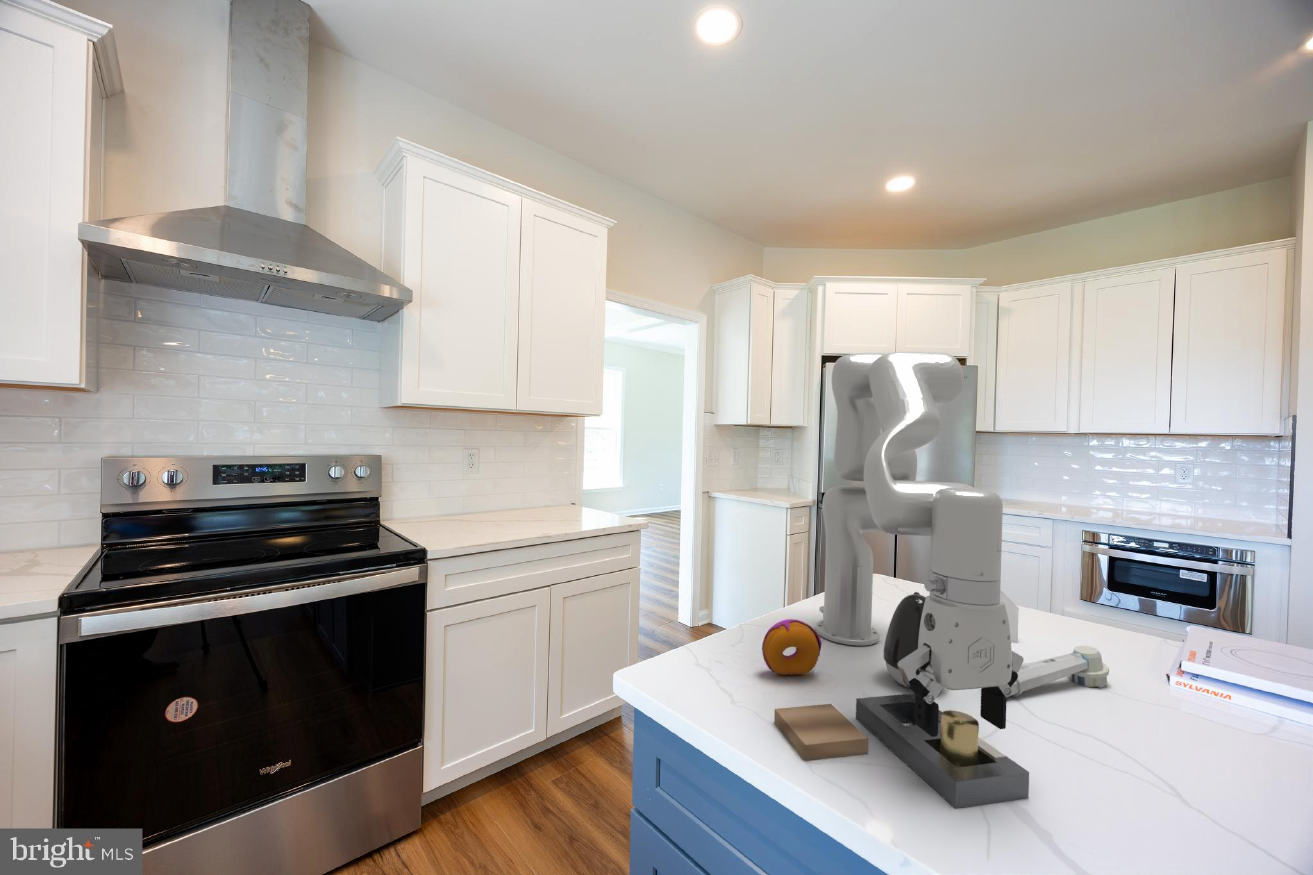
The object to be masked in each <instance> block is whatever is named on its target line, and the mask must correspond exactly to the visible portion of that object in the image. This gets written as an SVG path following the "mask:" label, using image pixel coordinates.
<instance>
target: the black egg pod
mask: <svg viewBox="0 0 1313 875" xmlns="http://www.w3.org/2000/svg"><path fill="white" fill-rule="evenodd" d="M925 599H926V596H924V595H922V594H920V593H919V592H918V591H914V593H912V594H909V595H906V596H905V597H903V598H902V599H901V601H900V602H899V603H898V605H897V607H896V608H895V610H894V612H893V614H892V617H891V620H890V623H889V626H888V629H887V632H886V636H885V641H884V646H883V653H882V654H883V657H882V658H883V660H884V661H885V666H886V668H887V671H888V673H889V674H890V676H891V677H892V678H893V679H894V680H895V681H896V682H897V683H898V684H899V685H902V686H904V687H905V688H907V689H910V688H909V687H908V686H907V685H906V684H905V683H904V681H903V677H902V675H901V673H900V671H899V668H898V665H897V664H898V662H899V661H900V660H902V659H903V658H905V657H906V656H908V655H909V654H911V653H912V652H914V651H915V650H917V649H918V639H919V630H920V622H921V617H922V612H923V607H924V603H925ZM919 674H920V671H919V668H918V669H917V670H916V675H917V676H916V677H918V675H919ZM932 682H933V681H931V680H929V681H928V683H927V684H926V686H925V688H926V689H928V687H929V686H930V685H931V683H932Z"/></svg>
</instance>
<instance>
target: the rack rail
mask: <svg viewBox="0 0 1313 875" xmlns="http://www.w3.org/2000/svg"><path fill="white" fill-rule="evenodd" d="M942 712H943V711H942V710H940V709H939V717H938V735H937V736H936V737H931V736H930V735H929V734H927V733H926V732H925V731H924V730H922V729H921V728H920V727H918V726H917V725H916V723H915V694H914V693H912V692H911V693H902V694H891V695H880V696H870V697H858V698H855V719H856V720H857V721H858V723H860V724H861V725H862V726H863V727H864V728H865V729H866V730H867V731H869V733H870V734H872V735H873V736H875V738H876V739H878V740H879V741H880V742H881V743H882V744H883V746H885V747H886V748H887V749H889V750H890V751H891V752H892V753H893V755H895V756H897V757H898V758H899V759H900V760H901V761H902V763H904V764H905V765H906V766H907V767H908V768H909V769H911V770H912V771H913V772H914V773H915V774H916V775H918V776H919V777H920V778H921V779H922V780H923V781H924V782H925V783H926V784H927V785H929V787H931V788H932V789H933V790H934V791H935V792H936V793H938V794H939V795H940V797H941V798H943V799H944V800H945V801H946V802H948V804H949V805H951V807H953V808H954V809H962V808H969V807H975V806H976V807H977V806H983V805H987V804H988V805H989V804H996V803H1004V802H1010V801H1016V800H1024V799H1029V795H1030V794H1029V793H1030V792H1029V789H1030V771H1028V770H1027V769H1025V768H1024V767H1022V766H1021V765H1020V764H1018V763H1017V762H1015V761H1014V760H1012V759H1011V758H1009V757H1008V756H1007V755H1005V754H1004V753H1002V752H1001V751H999V750H998V749H996V747H994V746H992V745H991V744H989V743H987V741H985V740H983V739H982V738H981V737H980V736H978V765H974V766H966V767H958V768H957V767H956V766H955V765H954V764H952V763H951V762H950V761H949V760H947V759H946V758H945V757H944V756H942V755H941V754H940V744H941V714H942ZM905 723H912V724H911V725H905Z"/></svg>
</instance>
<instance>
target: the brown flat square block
mask: <svg viewBox="0 0 1313 875" xmlns="http://www.w3.org/2000/svg"><path fill="white" fill-rule="evenodd" d="M773 716H774V722H773V723H774V724H775V725H776V727H777V728H778V729H779V730H780V732H781V733H782V734H783V736H785V738H786V739H787V740H788V741H789V743H790V744H791V746H793V748H794V749H795V750H796V752H797V753H798V754H799V755H800V756H801V757H802V759H803V760H804V761H813V760H822V759H830V758H831V759H832V758H840V757H850V756H857V755H865V754H868V752H869V738H868V736H867V735H866V734H864V733H863V731H861V730H860V729H859V728H858V727H857V726H856V725H854V723H852V721H850V720H849V719H848V718H847V717H846V716H845V715H844V714H843V713H842V712H841V711H840V710H839V709H837V708H836V707H835V706H834V705H833V704H832V703H825V704H824V703H823V704H815V705H814V704H813V705H803V706H793V707H791V706H790V707H780V708H779V707H778V708H774V715H773Z"/></svg>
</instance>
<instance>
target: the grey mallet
mask: <svg viewBox="0 0 1313 875" xmlns="http://www.w3.org/2000/svg"><path fill="white" fill-rule="evenodd" d="M1109 673H1110V668H1109V666H1108V665H1107V664H1105V663H1104V662H1103V658H1102V654H1101V652H1100V651H1099V649H1097V647H1094V646H1089V645H1078V646H1075V647H1074V649H1073V651H1072V652H1071V653H1068V654H1067V653H1066V654H1063V655H1058V656H1054V657H1051V658H1046V659H1040V660H1037V661H1031V662H1028V663H1022V666H1021V668H1020V670H1019V672H1017V674H1018V679H1017V680H1016V681H1015V683H1014V684H1013V685H1012V686H1011V690H1012V693H1011V695H1010V696H1006V698H1009V697H1012V698H1017V697H1019V696H1021V695H1022V694H1023V693H1024V692H1026V691H1029V690H1032V689H1035V688H1038V687H1040V686H1043V685H1047V684H1049V683H1052V682H1054V681H1058V680H1060V679H1063V678H1066V677H1069V676H1070V680H1071V681H1072V682H1073V683H1076V684H1078V685H1079V686H1084V687H1086V688H1087V687H1088V688H1091V687H1097V688H1098V689H1101V688H1102V689H1103V688H1105V687H1106V686H1107V683H1108V676H1109V675H1110V674H1109Z"/></svg>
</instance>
